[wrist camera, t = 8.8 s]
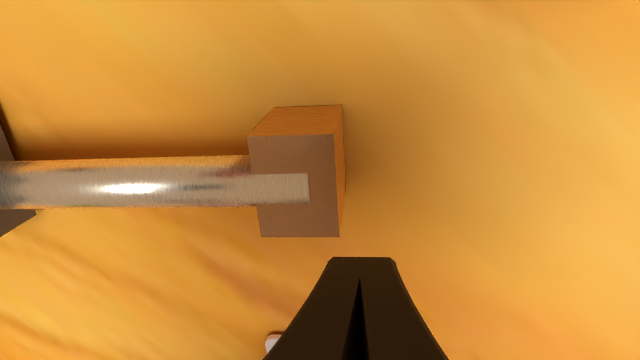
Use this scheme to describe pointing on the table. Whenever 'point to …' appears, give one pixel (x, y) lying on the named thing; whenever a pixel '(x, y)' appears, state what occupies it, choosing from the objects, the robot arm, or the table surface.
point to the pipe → (209, 177)
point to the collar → (11, 218)
